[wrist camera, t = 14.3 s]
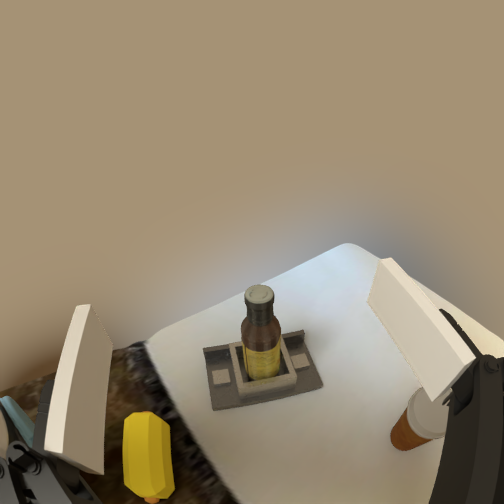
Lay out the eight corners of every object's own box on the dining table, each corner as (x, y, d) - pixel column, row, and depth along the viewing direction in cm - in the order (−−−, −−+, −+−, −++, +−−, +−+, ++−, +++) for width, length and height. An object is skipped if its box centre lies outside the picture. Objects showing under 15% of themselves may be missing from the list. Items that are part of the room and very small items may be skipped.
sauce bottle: (285, 375, 47) (294, 298, 36) (257, 391, 45) (254, 318, 33) (266, 353, 52) (266, 274, 41) (238, 367, 49) (228, 290, 38)
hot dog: (134, 503, 26) (179, 505, 27) (116, 498, 22) (166, 502, 23) (132, 415, 40) (171, 414, 42) (118, 399, 37) (160, 398, 38)
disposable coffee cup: (398, 405, 40) (426, 371, 33) (435, 426, 34) (469, 396, 27) (372, 443, 34) (399, 417, 28) (411, 467, 29) (448, 445, 22)
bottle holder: (213, 410, 42) (208, 398, 39) (205, 358, 52) (201, 343, 49) (321, 387, 46) (326, 373, 43) (301, 341, 55) (303, 324, 52)
